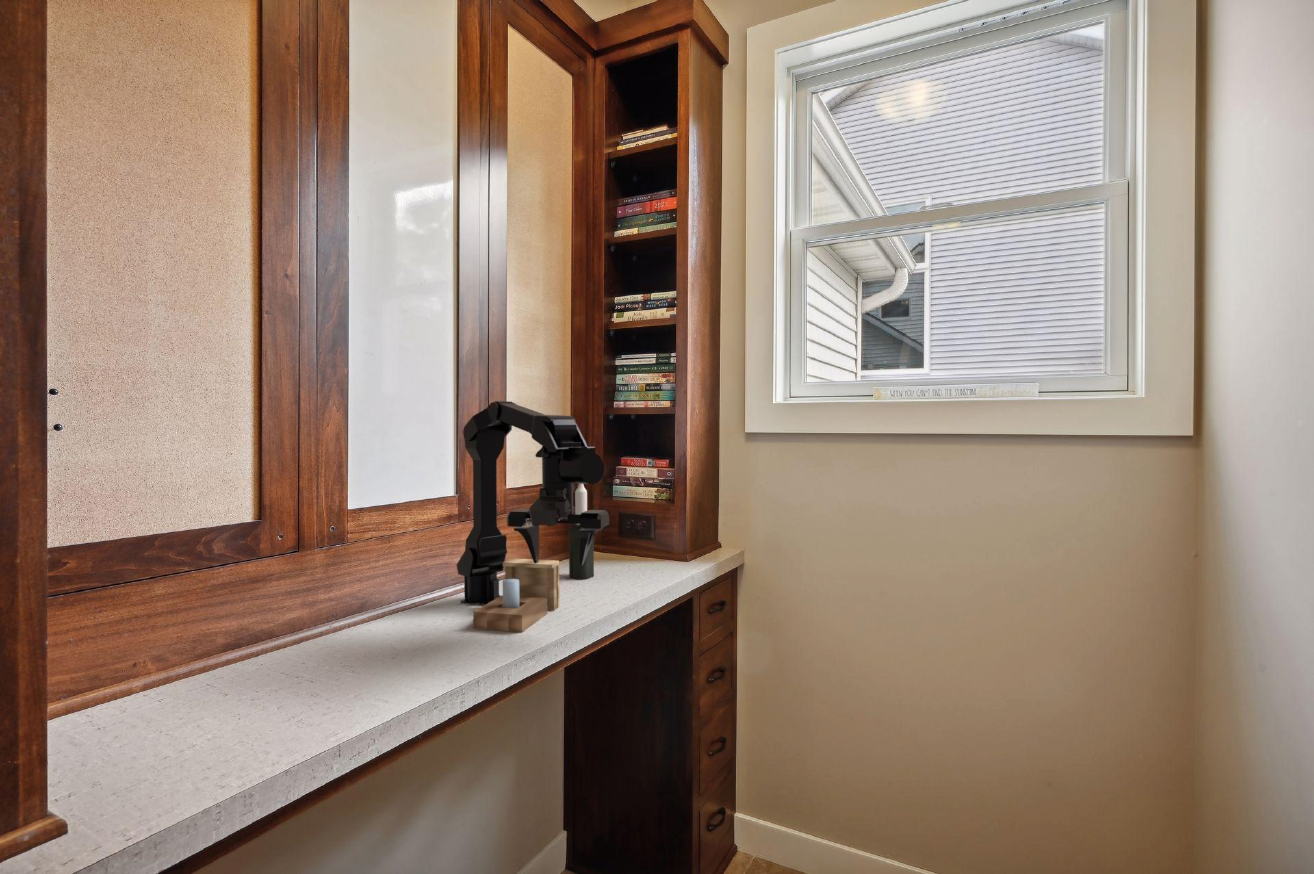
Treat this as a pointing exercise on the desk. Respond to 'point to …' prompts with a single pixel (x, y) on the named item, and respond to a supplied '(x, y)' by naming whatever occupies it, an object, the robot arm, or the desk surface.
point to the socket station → (523, 596)
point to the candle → (574, 542)
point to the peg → (511, 593)
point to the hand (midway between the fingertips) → (558, 563)
